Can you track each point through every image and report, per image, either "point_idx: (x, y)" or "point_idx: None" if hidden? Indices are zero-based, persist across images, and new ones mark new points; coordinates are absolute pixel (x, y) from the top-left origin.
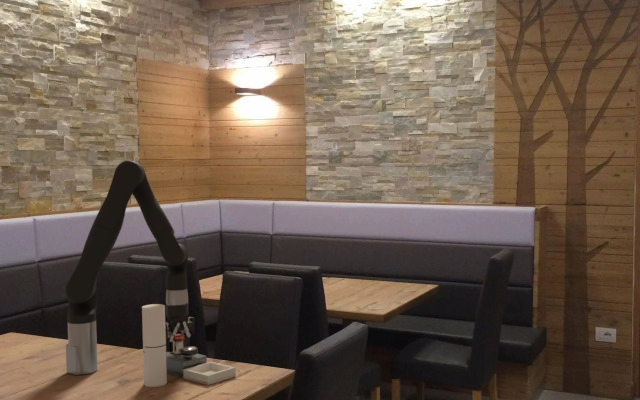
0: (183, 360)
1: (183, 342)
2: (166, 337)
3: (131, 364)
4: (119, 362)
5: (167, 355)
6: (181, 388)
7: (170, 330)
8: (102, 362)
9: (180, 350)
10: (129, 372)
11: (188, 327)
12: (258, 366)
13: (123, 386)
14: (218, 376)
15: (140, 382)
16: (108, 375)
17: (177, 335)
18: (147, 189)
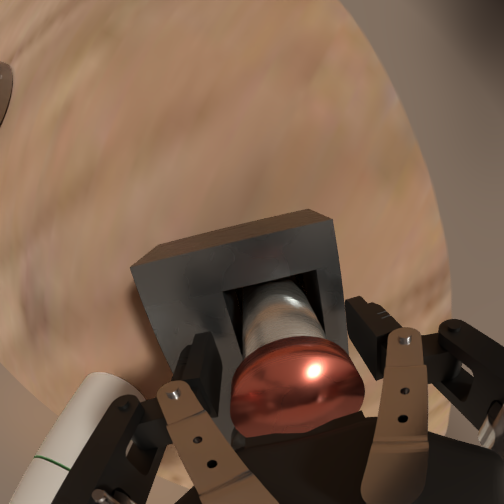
0: (229, 438)
1: (358, 316)
2: (145, 458)
3: (110, 84)
4: (95, 34)
5: (195, 327)
6: (174, 461)
7: (216, 450)
8: (61, 17)
9: (231, 446)
10: (59, 212)
11: (472, 369)
12: (443, 403)
13: (34, 354)
14: None
15: (74, 360)
16: (6, 205)
17: (296, 408)
18: None
